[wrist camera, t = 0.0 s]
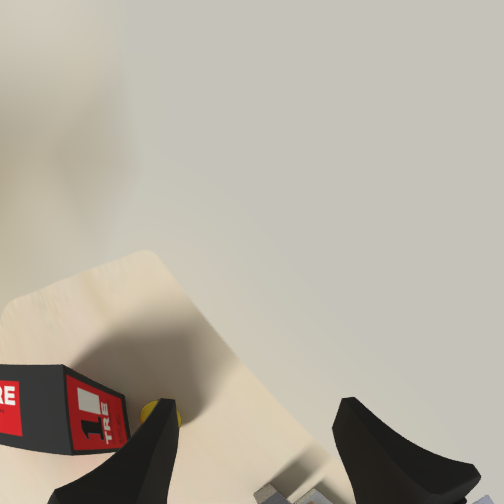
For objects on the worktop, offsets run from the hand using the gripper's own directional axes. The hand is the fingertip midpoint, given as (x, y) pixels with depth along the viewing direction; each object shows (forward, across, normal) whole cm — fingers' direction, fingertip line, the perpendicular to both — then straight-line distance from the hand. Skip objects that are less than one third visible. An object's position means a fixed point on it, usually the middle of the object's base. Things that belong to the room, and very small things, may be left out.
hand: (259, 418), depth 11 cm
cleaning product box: (+19, +24, +26) cm, 40 cm away
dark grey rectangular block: (+12, -5, +32) cm, 35 cm away
